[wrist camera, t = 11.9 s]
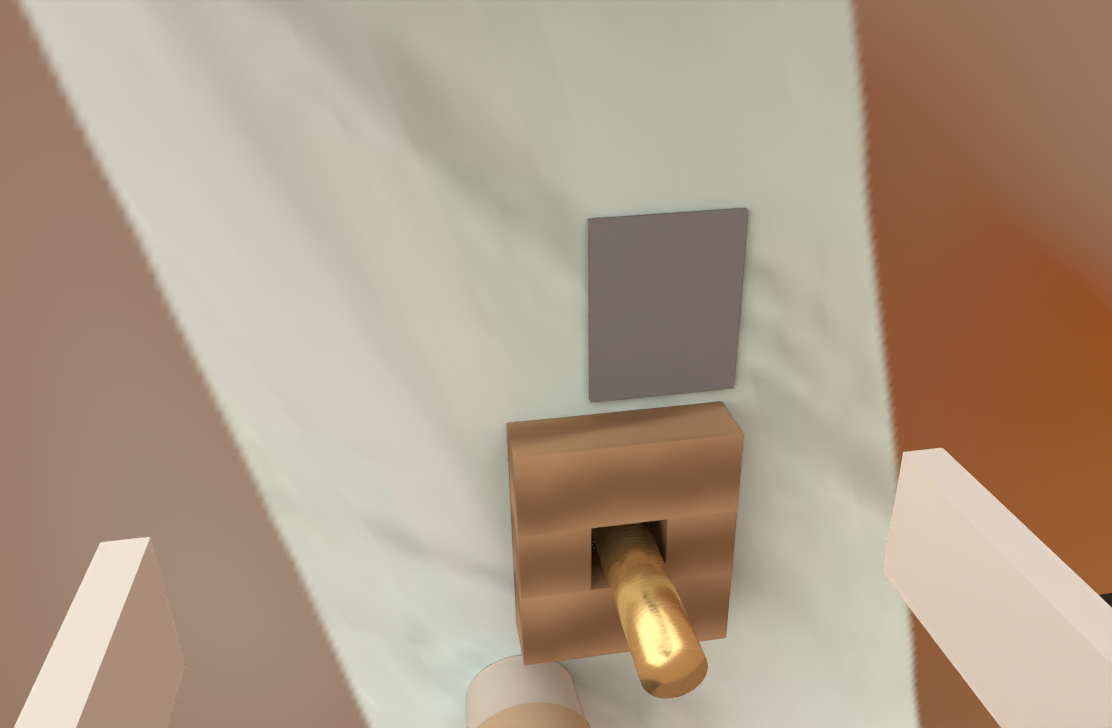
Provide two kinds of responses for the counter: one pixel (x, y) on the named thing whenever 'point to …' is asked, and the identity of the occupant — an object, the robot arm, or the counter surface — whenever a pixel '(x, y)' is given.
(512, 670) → the coffee cup
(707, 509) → the hole block
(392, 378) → the counter surface
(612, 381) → the mat
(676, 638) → the peg
